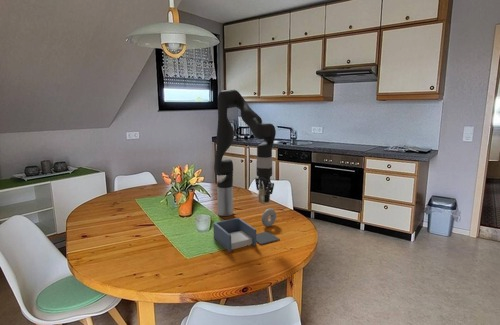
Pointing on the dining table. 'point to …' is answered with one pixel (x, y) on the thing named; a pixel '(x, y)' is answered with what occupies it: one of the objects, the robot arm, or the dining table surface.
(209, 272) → the dining table surface
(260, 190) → the maple block
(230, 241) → the slot box
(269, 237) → the rubber mat
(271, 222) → the donut
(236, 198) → the dining table surface
